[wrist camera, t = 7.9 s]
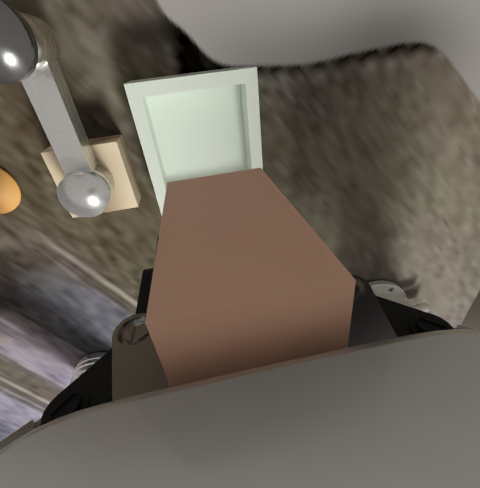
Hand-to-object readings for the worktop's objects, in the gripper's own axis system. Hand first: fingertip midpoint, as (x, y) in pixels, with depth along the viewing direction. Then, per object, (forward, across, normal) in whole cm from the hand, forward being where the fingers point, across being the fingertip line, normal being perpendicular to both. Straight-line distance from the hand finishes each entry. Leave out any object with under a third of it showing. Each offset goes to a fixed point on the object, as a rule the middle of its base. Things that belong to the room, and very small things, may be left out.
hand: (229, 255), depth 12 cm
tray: (+19, 0, 0) cm, 19 cm away
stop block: (+2, 0, 0) cm, 2 cm away
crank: (+16, +10, -4) cm, 19 cm away
